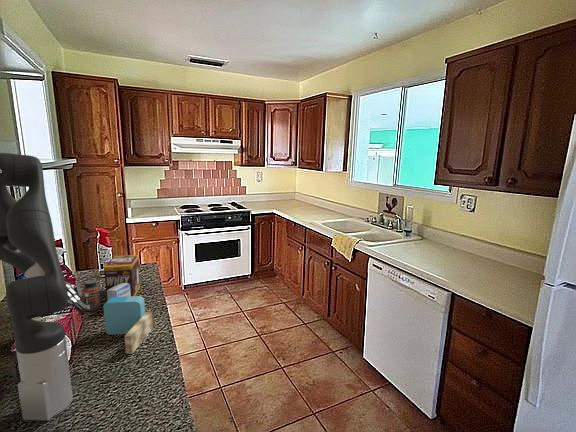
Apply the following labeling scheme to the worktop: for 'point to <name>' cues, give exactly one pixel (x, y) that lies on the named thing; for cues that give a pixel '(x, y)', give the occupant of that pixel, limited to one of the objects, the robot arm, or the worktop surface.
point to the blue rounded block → (123, 313)
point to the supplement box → (123, 272)
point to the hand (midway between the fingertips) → (84, 310)
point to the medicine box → (119, 291)
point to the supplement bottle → (91, 295)
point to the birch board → (139, 332)
